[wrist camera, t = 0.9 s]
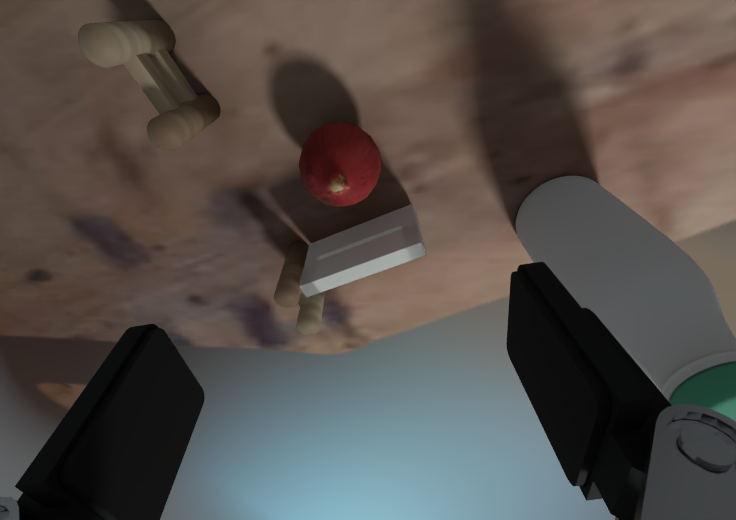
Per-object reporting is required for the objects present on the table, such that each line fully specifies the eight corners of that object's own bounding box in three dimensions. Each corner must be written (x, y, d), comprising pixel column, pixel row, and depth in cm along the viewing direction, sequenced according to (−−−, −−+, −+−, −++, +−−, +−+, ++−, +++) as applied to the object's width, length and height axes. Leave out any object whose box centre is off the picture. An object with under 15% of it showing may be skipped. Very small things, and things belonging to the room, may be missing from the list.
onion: (351, 195, 32) (347, 245, 25) (293, 156, 30) (272, 199, 23) (393, 141, 29) (401, 181, 23) (333, 95, 27) (322, 123, 21)
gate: (315, 254, 34) (306, 297, 29) (309, 243, 34) (299, 286, 29) (416, 215, 32) (426, 255, 27) (412, 204, 31) (421, 242, 26)
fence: (161, 13, 24) (98, 15, 19) (330, 280, 37) (324, 331, 31) (138, 27, 25) (69, 34, 19) (313, 286, 38) (303, 337, 32)
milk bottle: (495, 228, 34) (617, 439, 17) (558, 156, 30) (792, 340, 13) (556, 261, 36) (716, 478, 19) (622, 198, 32) (890, 401, 16)
